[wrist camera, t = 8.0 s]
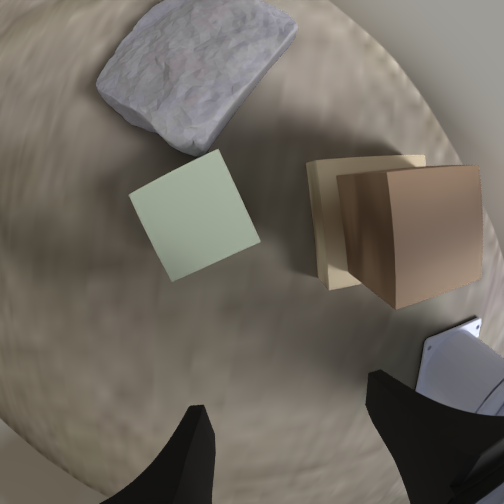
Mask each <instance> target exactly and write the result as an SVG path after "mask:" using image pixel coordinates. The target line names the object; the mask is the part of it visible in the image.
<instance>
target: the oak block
mask: <svg viewBox="0 0 504 504" xmlns="http://www.w3.org/2000/svg"><path fill="white" fill-rule="evenodd" d="M421 166H426V162H425V155H390V156H367V157H350V158H336V159H324V160H315V161H311V162H307V163H306V170H307V178H308V185H309V193H310V201H311V210H312V218H313V228H314V237H315V247H316V258H317V270H318V278H319V279H320V280H321V282H322V283H323V284H324V285H325V286H326V287H327V288H328V290H334V289H339V288H344V287H349V286H354V285H359V284H362V283H361V282H360V281H359V280H357V279H356V278H355V277H353V276H352V275H351V274H349V273H348V265H347V255H346V245H345V236H344V228H343V220H342V212H341V205H340V198H339V191H338V185H337V178H336V176H337V175H345V174H352V173H360V172H369V171H378V170H387V169H397V168H408V167H421Z"/></svg>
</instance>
